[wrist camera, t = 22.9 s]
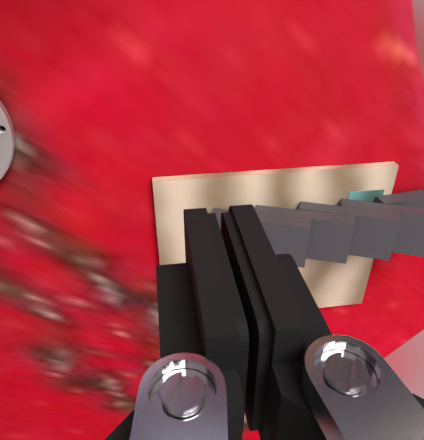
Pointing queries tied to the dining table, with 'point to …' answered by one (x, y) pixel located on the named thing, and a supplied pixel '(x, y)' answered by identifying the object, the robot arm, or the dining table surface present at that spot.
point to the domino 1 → (283, 234)
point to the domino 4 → (403, 199)
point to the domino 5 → (409, 228)
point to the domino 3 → (366, 229)
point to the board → (276, 197)
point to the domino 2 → (321, 232)
